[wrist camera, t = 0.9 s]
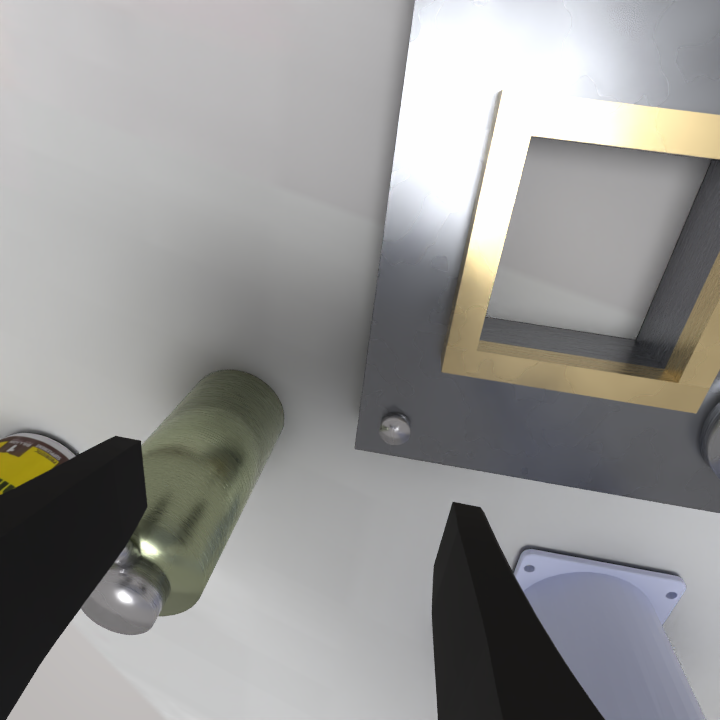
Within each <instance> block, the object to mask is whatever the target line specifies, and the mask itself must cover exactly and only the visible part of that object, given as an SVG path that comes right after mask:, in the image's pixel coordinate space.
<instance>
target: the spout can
mask: <svg viewBox="0 0 720 720" xmlns="http://www.w3.org/2000/svg"><path fill="white" fill-rule="evenodd" d="M283 425H284V412H283V408H282V405H281V403H280V401H279V399H278V397H277V395H276V394H275V393H274V391H273V390H272V389H271V388H270V387H269V386H268V385H267V384H266V383H264V382H263V381H262V380H260V379H258V378H257V377H255V376H253V375H251V374H248V373H245V372H242V371H237V370H221V371H217V372H213V373H211V374H209V375H207V376H206V377H204V378H203V379H202V380H201V381H200V382H199V383H198V384H197V385H196V386H195V387H194V388H193V389H192V391H191V392H190V393H189V394H188V395H187V396H186V397H185V398H184V399H183V400H182V402H181V403H180V404H179V405H178V406H177V407H176V408H175V409H174V410H173V411H172V413H171V414H170V415H169V416H168V417H167V418H166V419H165V420H164V421H163V422H162V424H161V425H160V426H159V427H158V428H157V429H156V430H155V431H154V432H153V433H152V434H151V436H150V437H149V438H148V439H147V440H146V441H145V442H144V443H143V444H142V445H141V447H142V457H143V467H144V476H145V486H146V496H147V506H148V507H147V509H146V511H145V513H144V515H143V517H142V518H141V520H140V522H139V524H138V526H137V528H136V529H135V531H134V533H133V535H132V536H131V538H130V540H129V541H128V543H127V545H126V546H125V548H124V550H123V551H122V552H121V554H120V555H119V557H118V558H117V559H116V561H115V562H114V563H113V565H112V566H111V568H110V569H109V570H108V572H107V573H106V574H105V576H104V577H103V579H102V580H101V581H100V583H99V584H98V585H97V587H96V588H95V589H94V591H93V592H92V593H91V595H90V596H89V597H88V599H87V600H86V602H85V603H84V604H83V606H82V607H81V609H82V610H83V612H84V613H85V614H86V615H87V616H88V617H89V618H90V619H91V620H92V621H94V622H95V623H97V624H98V625H100V626H102V627H104V628H106V629H108V630H110V631H113V632H116V633H120V634H126V635H137V634H142V633H145V632H147V631H148V630H149V629H151V627H152V626H153V624H154V622H155V621H156V619H157V617H158V616H169V615H175V614H179V613H181V612H184V611H186V610H188V609H189V608H191V607H192V606H193V605H195V604H196V602H197V601H198V600H199V598H200V596H201V594H202V592H203V590H204V588H205V586H206V584H207V582H208V580H209V578H210V576H211V574H212V572H213V570H214V568H215V566H216V564H217V562H218V560H219V558H220V556H221V553H222V551H223V549H224V547H225V545H226V543H227V541H228V539H229V537H230V535H231V533H232V531H233V529H234V527H235V525H236V523H237V521H238V519H239V517H240V515H241V513H242V511H243V509H244V507H245V505H246V503H247V500H248V498H249V496H250V494H251V492H252V490H253V488H254V486H255V484H256V482H257V480H258V478H259V476H260V474H261V472H262V470H263V468H264V466H265V464H266V462H267V460H268V458H269V456H270V454H271V452H272V450H273V447H274V445H275V443H276V441H277V439H278V437H279V435H280V433H281V431H282V428H283Z"/></svg>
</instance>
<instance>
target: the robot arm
mask: <svg viewBox="0 0 720 720" xmlns="http://www.w3.org/2000/svg"><path fill="white" fill-rule="evenodd" d="M147 507H148V506H147V496H146V486H145V476H144V467H143V457H142V447H141V441H139V440H134V439H129V438H124V437H118V436H115V437H113V438H110V439H108V440H106V441H104V442H102V443H100V444H98V445H96V446H94V447H92V448H90V449H88V450H87V451H85V452H83V453H81V454H79V455H77V456H75V457H73V458H71V459H69V460H68V461H66V462H64V463H62V464H60V465H58V466H56V467H54V468H52V469H50V470H48V471H47V472H45V473H43V474H41V475H39V476H37V477H35V478H33V479H31V480H29V481H27V482H25V483H23V484H21V485H20V486H18V487H16V488H14V489H12V490H10V491H7V492H5V493H3V494H1V495H0V720H6V719H7V717H8V716H9V714H10V712H11V710H12V709H13V707H14V706H15V704H16V703H17V701H18V699H19V698H20V696H21V694H22V693H23V691H24V690H25V688H26V686H27V685H28V683H29V682H30V680H31V678H32V677H33V675H34V673H35V672H36V670H37V668H38V667H39V665H40V664H41V662H42V661H43V659H44V658H45V656H46V655H47V654H48V652H49V651H50V649H51V648H52V646H53V645H54V643H55V642H56V641H57V639H58V638H59V637H60V635H61V634H62V633H63V631H64V630H65V629H66V627H67V626H68V624H69V623H70V622H71V620H72V619H73V618H74V616H75V615H76V614H77V612H78V611H79V610H80V608H81V607H82V606H83V604H84V603H85V602H86V600H87V599H88V597H89V596H90V595H91V593H92V592H93V591H94V589H95V588H96V587H97V585H98V584H99V583H100V581H101V580H102V579H103V577H104V576H105V574H106V573H107V572H108V570H109V569H110V568H111V566H112V565H113V563H114V562H115V561H116V559H117V558H118V557H119V555H120V554H121V552H122V551H123V550H124V548H125V546H126V545H127V543H128V541H129V540H130V538H131V536H132V535H133V533H134V531H135V529H136V528H137V526H138V524H139V522H140V520H141V518H142V517H143V515H144V513H145V511H146V509H147ZM527 565H530V566H527ZM685 590H686V584H685V582H684V581H683V579H682V578H681V577H678V576H674V575H669V574H664V573H658V572H653V571H648V570H642V569H637V568H631V567H626V566H621V565H615V564H610V563H605V562H599V561H594V560H588V559H583V558H578V557H572V556H567V555H562V554H556V553H551V552H545V551H540V550H535V549H528V550H525V551H523V552H522V553H521V555H520V558H519V561H518V563H517V566H516V568H515V571H514V573H513V572H512V570H511V568H510V566H509V564H508V562H507V560H506V558H505V556H504V554H503V552H502V550H501V548H500V546H499V544H498V542H497V540H496V537H495V535H494V533H493V531H492V529H491V527H490V525H489V522H488V520H487V518H486V516H485V513H484V512H483V510H482V509H481V507H476V506H471V505H466V504H461V503H456V502H453V503H452V506H451V510H450V513H449V516H448V520H447V523H446V527H445V530H444V533H443V537H442V540H441V543H440V547H439V550H438V553H437V557H436V560H435V564H434V573H433V593H432V627H433V644H434V661H435V678H436V694H437V710H438V720H706V718H705V716H704V714H703V712H702V710H701V708H700V706H699V703H698V701H697V699H696V697H695V695H694V693H693V691H692V689H691V686H690V684H689V682H688V680H687V678H686V676H685V674H684V671H683V669H682V667H681V665H680V663H679V661H678V659H677V656H676V654H675V652H674V650H673V648H672V646H671V644H670V642H669V639H668V637H667V635H666V633H665V631H664V629H663V627H662V626H663V624H664V622H665V621H666V619H667V618H668V616H669V615H670V613H671V612H672V610H673V609H674V607H675V606H676V604H677V602H678V601H679V599H680V598H681V596H682V595H683V593H684V592H685Z"/></svg>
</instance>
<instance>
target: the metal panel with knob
mask: <svg viewBox="0 0 720 720" xmlns="http://www.w3.org/2000/svg"><path fill="white" fill-rule="evenodd" d="M531 137H537V138H545V139H553V140H561V141H569V142H576V143H584V144H592V145H600V146H608V147H616V148H624V149H632V150H640V151H647V152H655V153H663V154H671V155H679V156H687V157H695V158H703V159H711V160H712V162H711V164H710V167H709V169H708V171H707V174H706V176H705V178H704V181H703V183H702V186H701V188H700V190H699V193H698V195H697V197H696V200H695V202H694V205H693V207H692V209H691V212H690V214H689V216H688V219H687V221H686V224H685V226H684V228H683V231H682V233H681V235H680V238H679V240H678V242H677V245H676V247H675V250H674V252H673V254H672V257H671V259H670V261H669V264H668V266H667V269H666V271H665V273H664V276H663V278H662V280H661V283H660V285H659V288H658V290H657V292H656V295H655V297H654V299H653V302H652V304H651V306H650V309H649V311H648V314H647V316H646V318H645V321H644V323H643V325H642V328H641V330H640V333H639V335H638V337H637V340H631V339H625V338H618V337H612V336H605V335H599V334H592V333H586V332H579V331H573V330H566V329H560V328H553V327H547V326H540V325H534V324H527V323H521V322H514V321H508V320H501V319H495V318H488V317H485V316H486V312H487V308H488V304H489V300H490V296H491V292H492V288H493V284H494V280H495V276H496V272H497V268H498V264H499V260H500V256H501V252H502V248H503V244H504V240H505V236H506V233H507V229H508V225H509V221H510V217H511V213H512V209H513V205H514V201H515V197H516V193H517V189H518V185H519V181H520V177H521V173H522V169H523V165H524V161H525V157H526V153H527V150H528V146H529V142H530V138H531ZM355 449H358V450H364V451H369V452H375V453H381V454H386V455H392V456H398V457H404V458H409V459H415V460H421V461H426V462H432V463H438V464H443V465H449V466H455V467H460V468H466V469H472V470H477V471H483V472H489V473H494V474H500V475H506V476H511V477H517V478H523V479H528V480H534V481H540V482H545V483H551V484H557V485H563V486H568V487H574V488H580V489H585V490H591V491H597V492H602V493H608V494H614V495H619V496H625V497H631V498H636V499H642V500H648V501H653V502H659V503H665V504H670V505H676V506H682V507H687V508H693V509H699V510H705V511H710V512H716V513H720V0H415V5H414V12H413V19H412V27H411V34H410V42H409V49H408V57H407V64H406V71H405V79H404V86H403V94H402V101H401V109H400V116H399V123H398V131H397V138H396V146H395V153H394V160H393V168H392V175H391V183H390V190H389V198H388V205H387V212H386V220H385V227H384V235H383V242H382V249H381V257H380V264H379V272H378V279H377V287H376V294H375V301H374V309H373V316H372V324H371V331H370V339H369V346H368V353H367V361H366V368H365V376H364V383H363V390H362V398H361V405H360V413H359V420H358V428H357V435H356V442H355Z"/></svg>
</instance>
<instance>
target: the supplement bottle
mask: <svg viewBox="0 0 720 720" xmlns="http://www.w3.org/2000/svg"><path fill="white" fill-rule="evenodd" d="M73 457H75V455H74V454H73V453H72V452H71V451H70V450H69V449H67V448H66V447H65V446H63V445H62V444H60V443H59V442H57V441H55V440H53V439H50V438H48V437H45V436H42V435H38V434H32V433H18V434H13V435H10V436H7V437H5V438H3V439H1V440H0V495H1V494H3V493H5V492H7V491H10V490H12V489H14V488H16V487H18V486H20V485H21V484H23V483H25V482H27V481H29V480H31V479H33V478H35V477H37V476H39V475H41V474H43V473H45V472H47V471H48V470H50V469H52V468H54V467H56V466H58V465H60V464H62V463H64V462H66V461H68V460H69V459H71V458H73Z"/></svg>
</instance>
